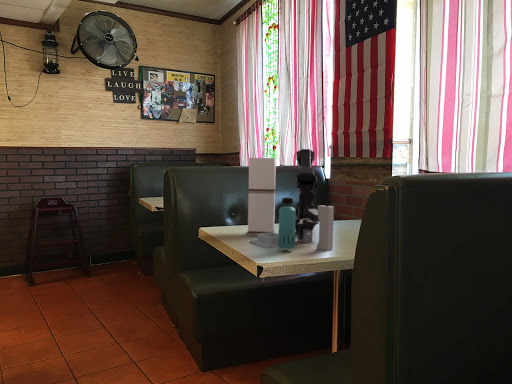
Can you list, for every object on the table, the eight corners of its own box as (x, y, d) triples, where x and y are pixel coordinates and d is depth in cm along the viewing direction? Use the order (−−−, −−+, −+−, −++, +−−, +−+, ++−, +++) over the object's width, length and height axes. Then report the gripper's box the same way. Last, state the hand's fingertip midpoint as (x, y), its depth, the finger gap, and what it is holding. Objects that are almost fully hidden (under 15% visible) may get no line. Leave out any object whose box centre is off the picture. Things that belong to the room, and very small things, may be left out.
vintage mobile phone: (321, 247, 154) (323, 183, 152) (332, 249, 151) (334, 184, 149) (316, 249, 151) (318, 184, 149) (327, 251, 148) (329, 184, 146)
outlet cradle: (276, 239, 169) (276, 231, 169) (294, 244, 159) (295, 235, 159) (249, 242, 161) (249, 234, 161) (267, 247, 151) (267, 238, 151)
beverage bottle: (281, 253, 143) (282, 198, 141) (275, 249, 149) (276, 196, 148) (297, 252, 144) (299, 198, 143) (291, 248, 151) (292, 196, 149)
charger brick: (304, 240, 168) (304, 228, 168) (312, 242, 164) (312, 230, 164) (296, 241, 166) (297, 229, 166) (305, 243, 162) (305, 231, 161)
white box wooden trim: (274, 232, 187) (275, 158, 184) (273, 236, 176) (274, 158, 174) (250, 231, 188) (251, 158, 185) (247, 235, 177) (249, 157, 175)
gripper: (301, 204, 152) (300, 244, 153) (335, 202, 163) (334, 239, 164) (283, 202, 161) (282, 239, 162) (316, 200, 172) (315, 235, 173)
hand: (304, 238), depth 165 cm, fingers closed on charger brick, 4 cm apart
